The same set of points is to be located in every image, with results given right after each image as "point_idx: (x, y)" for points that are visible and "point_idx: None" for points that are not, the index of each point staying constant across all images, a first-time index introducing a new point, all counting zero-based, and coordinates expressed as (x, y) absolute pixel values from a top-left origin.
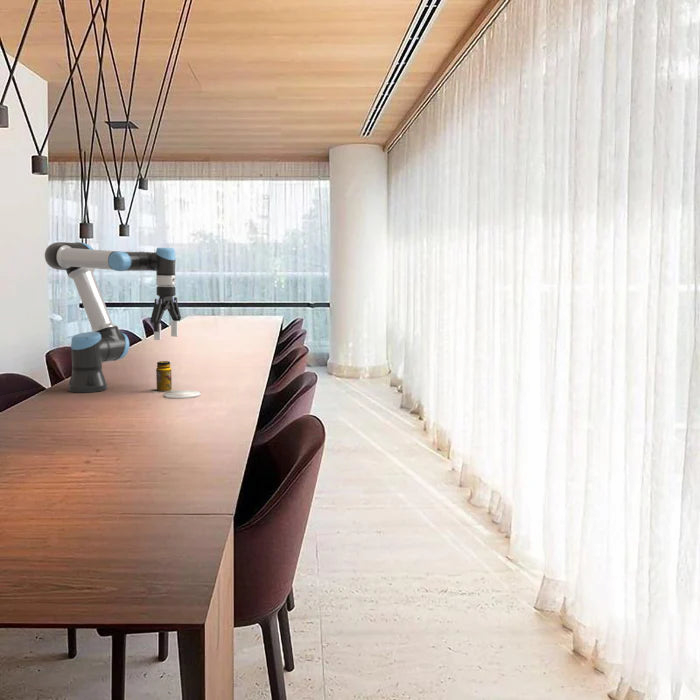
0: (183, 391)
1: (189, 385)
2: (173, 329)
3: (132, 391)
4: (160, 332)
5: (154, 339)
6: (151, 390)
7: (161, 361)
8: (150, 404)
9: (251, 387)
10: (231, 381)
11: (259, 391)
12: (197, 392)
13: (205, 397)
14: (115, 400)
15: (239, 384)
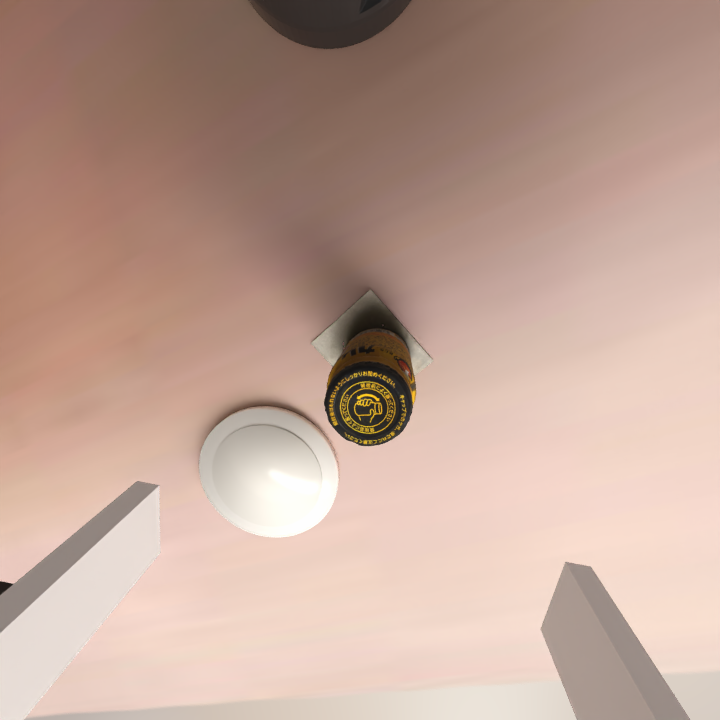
0: (287, 476)
1: (532, 423)
2: (610, 703)
3: (328, 220)
4: (73, 640)
5: (135, 488)
6: (359, 305)
7: (390, 384)
8: (79, 418)
9: (494, 657)
10: (660, 566)
11: (407, 690)
12: (292, 525)
13: (254, 555)
14: (105, 250)
15: None
